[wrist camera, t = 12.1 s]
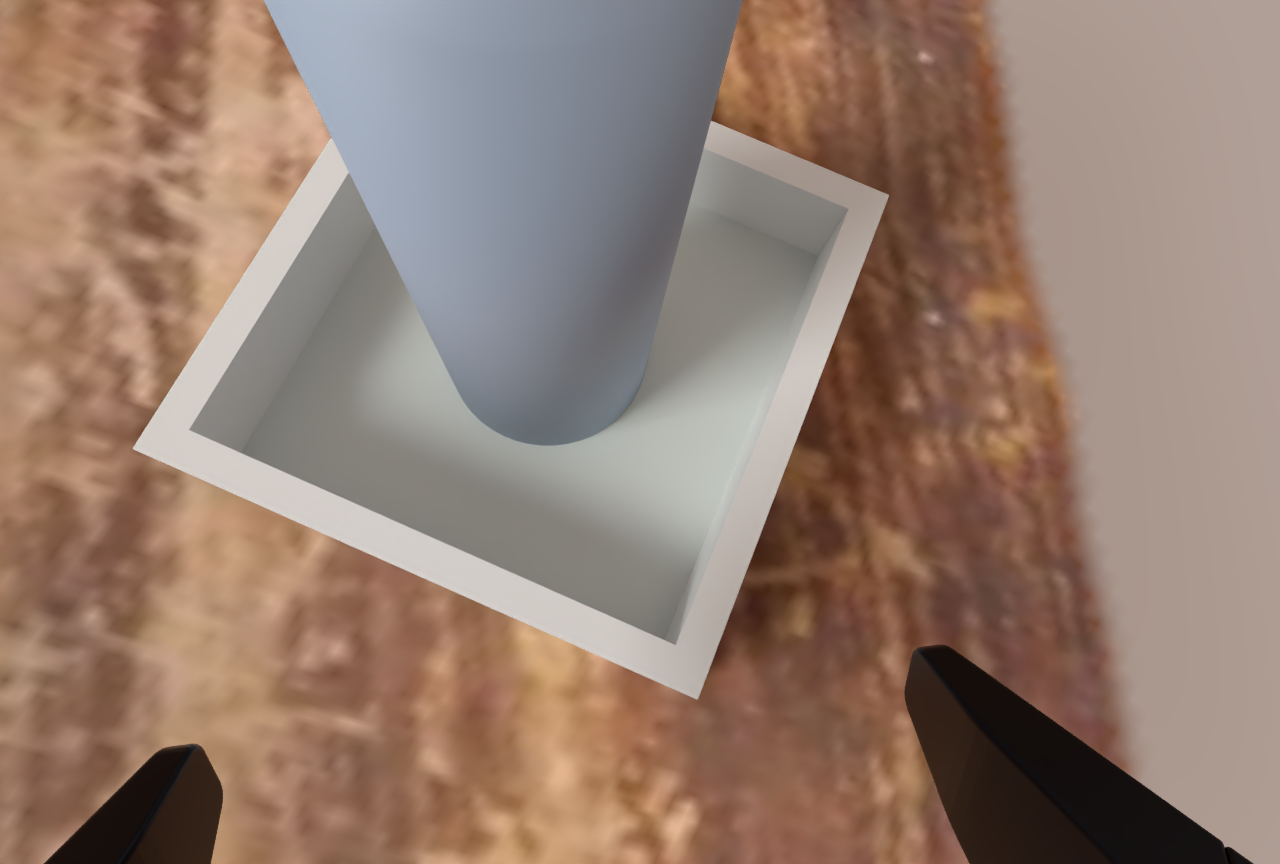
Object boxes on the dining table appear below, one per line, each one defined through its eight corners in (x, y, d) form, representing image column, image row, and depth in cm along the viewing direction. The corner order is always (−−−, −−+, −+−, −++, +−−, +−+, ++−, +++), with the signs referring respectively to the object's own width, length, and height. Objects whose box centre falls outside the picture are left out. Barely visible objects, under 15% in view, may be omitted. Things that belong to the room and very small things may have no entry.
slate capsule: (685, 343, 19) (886, -184, 7) (557, 487, 18) (514, 165, 6) (540, 226, 20) (481, -461, 7) (406, 358, 19) (59, -199, 6)
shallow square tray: (846, 254, 21) (889, 194, 18) (678, 687, 18) (697, 699, 15) (441, 83, 21) (419, -2, 19) (203, 477, 18) (132, 449, 15)
